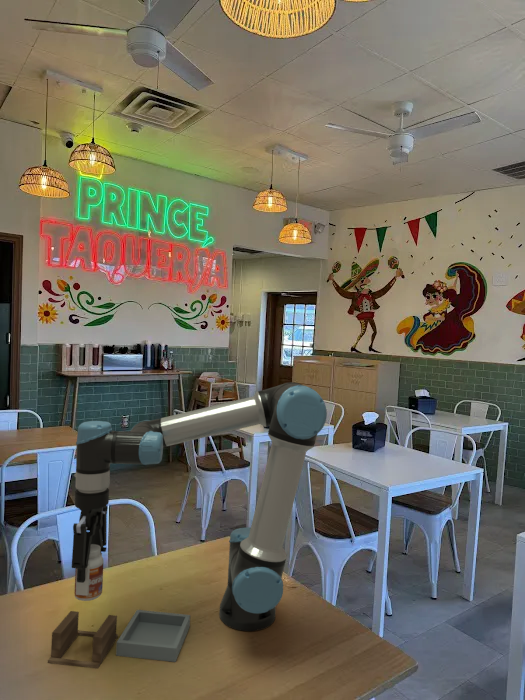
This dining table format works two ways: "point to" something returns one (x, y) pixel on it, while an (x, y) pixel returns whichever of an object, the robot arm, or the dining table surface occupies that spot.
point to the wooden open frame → (69, 632)
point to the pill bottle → (93, 574)
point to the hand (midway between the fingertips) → (88, 586)
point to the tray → (154, 635)
